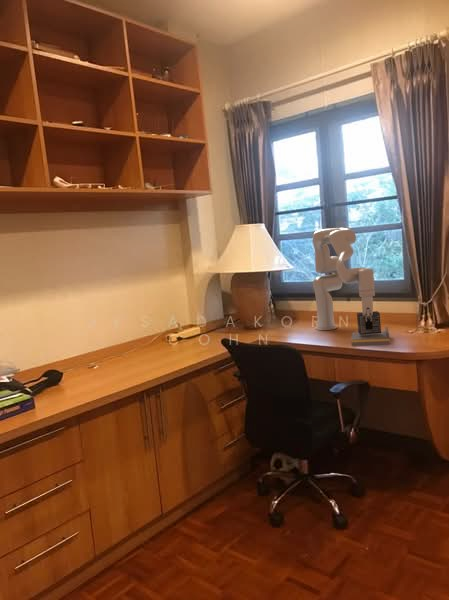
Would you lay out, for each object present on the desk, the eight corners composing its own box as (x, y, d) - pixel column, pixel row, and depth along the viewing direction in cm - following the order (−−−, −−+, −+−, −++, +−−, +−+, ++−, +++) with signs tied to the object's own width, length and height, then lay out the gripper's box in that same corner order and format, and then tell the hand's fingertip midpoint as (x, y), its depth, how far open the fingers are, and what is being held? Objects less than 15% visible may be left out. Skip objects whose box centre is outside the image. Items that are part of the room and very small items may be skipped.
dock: (352, 338, 256) (351, 328, 255) (388, 336, 251) (387, 326, 250) (351, 345, 241) (351, 335, 240) (389, 344, 235) (389, 333, 235)
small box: (378, 330, 248) (377, 310, 247) (381, 333, 242) (380, 312, 240) (357, 332, 249) (356, 312, 248) (360, 335, 243) (358, 314, 242)
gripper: (359, 291, 252) (361, 324, 255) (359, 296, 236) (361, 331, 238) (374, 290, 250) (376, 323, 252) (375, 295, 234) (377, 331, 236)
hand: (369, 327), depth 245 cm, fingers closed on small box, 7 cm apart
